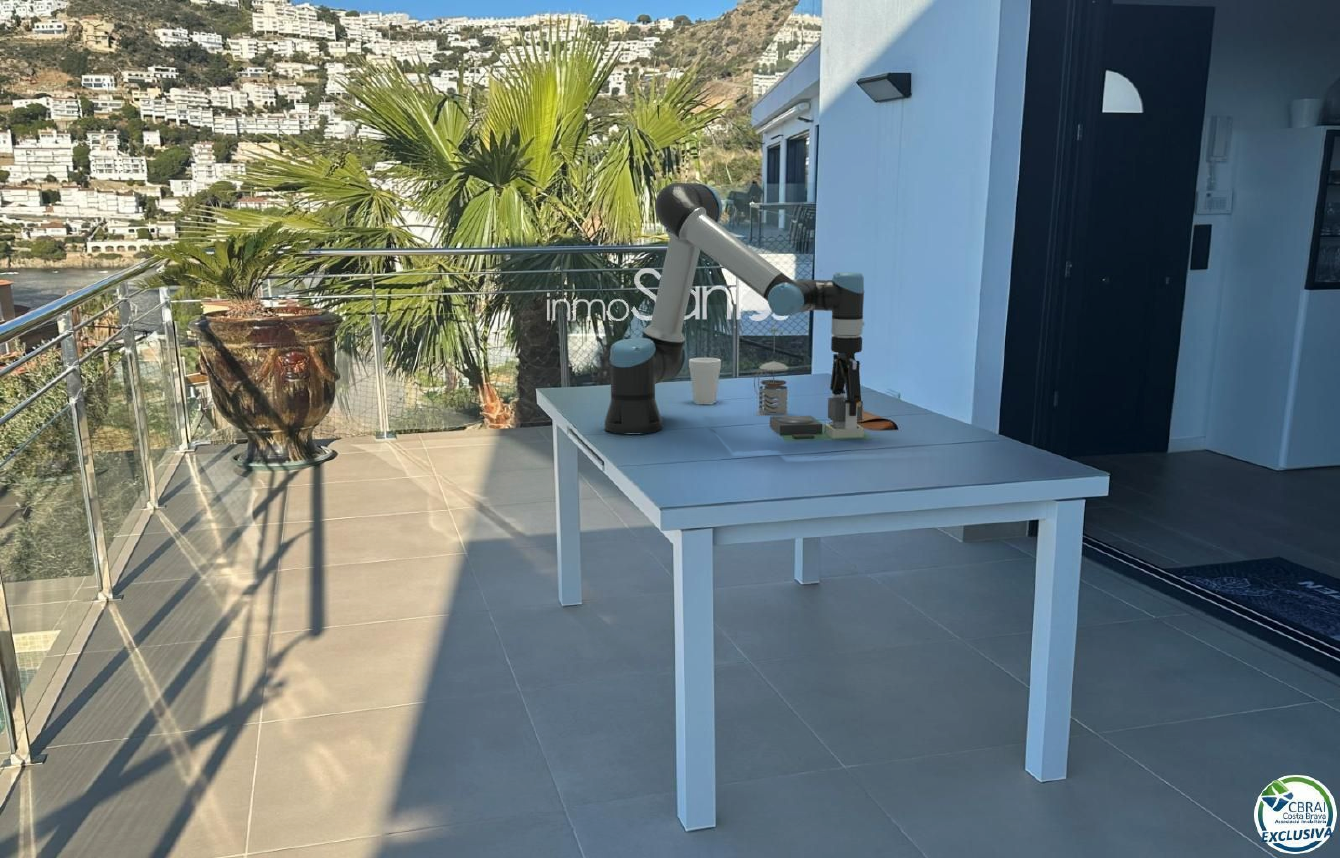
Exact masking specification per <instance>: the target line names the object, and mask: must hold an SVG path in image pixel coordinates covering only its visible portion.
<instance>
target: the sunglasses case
mask: <svg viewBox="0 0 1340 858" xmlns="http://www.w3.org/2000/svg"><path fill="white" fill-rule="evenodd" d="M857 424H858V425H859V426H861V427H862V428H864V430H868V431H876V432H877V431H878V432H881V431H896V430H899V427H898V426H899V425H897V424H896V422H895V421H894V420H891V419H889V418H884V417H881V416H879V415H876V414H874V413H871V412H868V411H866V410H864V409H863V410H862V421H857Z"/></svg>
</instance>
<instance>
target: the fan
mask: <svg viewBox="0 0 1340 858" xmlns="http://www.w3.org/2000/svg"><path fill="white" fill-rule="evenodd" d="M823 425H824V424H823V423H822V422H820V421H819V420H818V419H816V418H815V417H813V416H812V415H789V416H788V415H786V416H785V415H783V416H769V427H770V428H771V429H772V430H773V431H774V432H775V431H776V432H777V434H778V436H780V435H794V434H822V426H823ZM776 432H775V433H776Z"/></svg>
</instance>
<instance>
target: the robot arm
mask: <svg viewBox="0 0 1340 858" xmlns="http://www.w3.org/2000/svg"><path fill="white" fill-rule="evenodd" d="M654 211H655V215H656V218H657V220H658V221H659V223H660V224H661V225H662V226H663V227H664V228H665V232H666V234H667V236H668V237H669V240H668V244H667V250H666V253H665V259H664V261H663V267H662V271H661V274H660V275H661V276H660V280H659V285H658V288H657V294H656V298H655V302H654V307H653V310H652V311H653V312H652V316H651V321H650V324H649V325H648V326H646V327H644V328H643V330H642V334H641V337H631V338H628V339H627V338H626V339H625V338H624V339H620V340H618V341H615V342H614V343H613V344H612V345H611V346H610V352H609V354H610V355H609V365H610V368H609V371H610V375H609V376H610V402H609V406H608V409H607V412H606V415H605V420H604V430H605V429H606V430H607V432H608V431H610V432H609V433H612V432H614V433H613V434H618V433H646V434H651V433H650V432H653V433H656V432H655V431H657V432H659V431H661V430H662V429H663V420H662V417H661V413H660V411H659V407H658V404H657V402H656V384H659V383H663V382H664V383H665V382H669V381H671V380H673V379H675V378H676V377H678V376H679V375H680V374H681V373H682V372H683V371H684V369H685V368H686V365H687V360H688V353H687V350H686V349H685V342H686V337H685V336H684V334H683V333H682V330H683V326H684V321H685V318H686V312H687V309H688V305H689V300H690V296H691V292H692V291H691V290H692V288H693V284H694V279H695V274H696V271H697V266H698V262H699V257H700V252H703V253H704V254H705V255H707V256H708V257H710V258H711V259H712V260H713V261H715V262H716V263H717V264H719V265H720V266H722V268H724V269H725V270H727V271H728V272H729V273H730V274H732V275H733V276H734V277H735V278H737V279H738V280H739V281H740V282H742V283H744V285H746V286H747V287H748V288H750V289H751V290H753V291H754V292H755V293H757V295H759V296H760V297H762V298H763V299H764V300H766V301H767V304H768V306H769V308H770V310H771V311H772V313H774V314H775V315H778V316H785V317H789V316H793V315H796V314H799V313H804V312H808V311H826V312H827V311H828V312H831V326H830V327H831V329H830V331H831V332H830V333H831V334H832V335H833V336H831V341H830V343H831V344H830V348H831V349H830V350H831V351H832V352H834V354H833V356H832V358H833V361H832V371H831V380H830V391H832V392H831V393H832V398H840V397H845V394H846V397H847V400H845V403H846V416H845V429H857V404H858V401H862V394H861V393H862V392H861V391H862V389H861V377H860V364H861V362H860V360H857V359H856V355H855V354H856V353H858V354H859V353H861V352H862V351H863V350H862V349H863V338H862V336H861V335H862V334H863V327H864V326H865V322H864V321H863V320H864V319H863V318H864V301H865V300H864V299H865V283H864V282H865V280H864V275H863V273H861V272H855V271H853V272H852V271H846V272H845V271H843V272H842V271H840V272H839V271H838V272H835V273H833V275H832V278H831V279H828V280H824V279H823V280H822V279H805V278H799V279H798V278H797V279H792V278H790V277H788V276H787V275H786V274H785V273H783V271H781V270H780V269H779V268H777V267H776V266H774V265H773V264H772V263H771V262H769V261H768V260H767V259H765V258H763V256H761V255H760V254H759V253H757V252H756V251H754V250H753V249H752V248H750V247H749V246H748V245H746V244H745V243H744V242H743V241H741V240H740V239H739V238H737V237H736V236H735V235H734V234H733V233H731V232H729V230H727V229H726V228H724V227H723V226H722V225H721V224H719V222H720V220H721V218H722V214H723V203H722V200H721V197H720V195H719V194H718V192H717V191H716V190H715V189H714V188H713V187H711V186H709V185H707V184H703V183H698V182H693V183H692V182H687V183H686V182H673V183H670V184H667V185H666V186H665V187H663V188H662V189H661V190H660V191H659V192H658V194H657V195H656V198H655V201H654ZM844 388H845V389H844ZM661 428H662V429H661ZM660 429H661V430H660ZM606 430H605V431H606ZM658 430H659V431H658Z"/></svg>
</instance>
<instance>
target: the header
mask: <svg viewBox="0 0 1340 858" xmlns="http://www.w3.org/2000/svg"><path fill="white" fill-rule="evenodd" d="M824 424H825V431H824V432H825V433H826V434H827V435H829V436H830V437H831V438H855V437H864V432H865V429H864V428H862V427H861V426H859V425H858V424H857V429H834V428H833V424H829V423H824Z"/></svg>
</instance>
